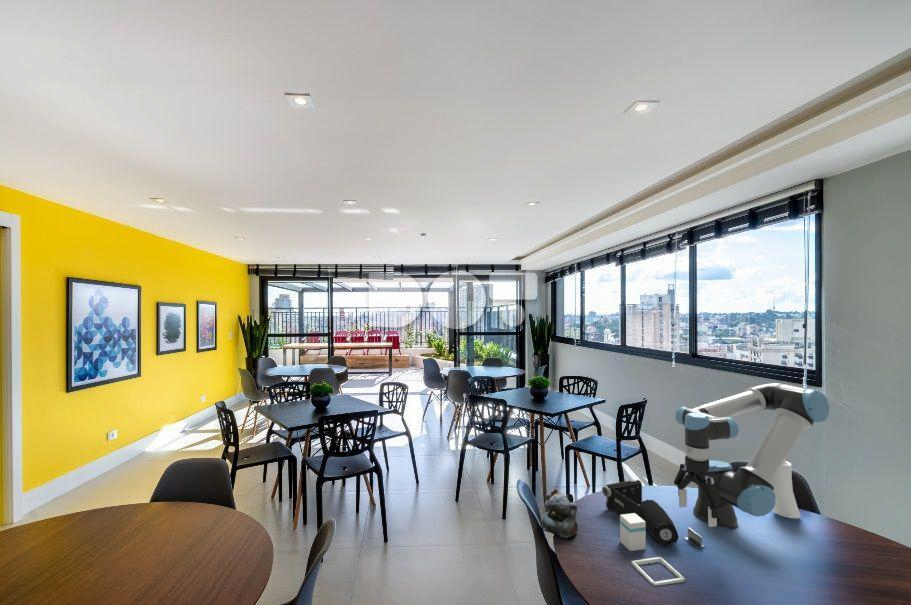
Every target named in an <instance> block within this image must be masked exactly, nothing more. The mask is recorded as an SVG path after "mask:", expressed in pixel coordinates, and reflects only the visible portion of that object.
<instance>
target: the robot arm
mask: <svg viewBox="0 0 911 605" xmlns="http://www.w3.org/2000/svg"><path fill="white" fill-rule="evenodd" d="M765 410H766V411H767V410H768V411H774V412H775V414H776V417H775V419H774V421H773V422H772V424H771V425H770V427H769V429H768V430H767V432H766V434H765V435H764V436H763V438H762V440H761V441H760V443H759V445H758V446H757V448H756V450H755V451H754V453H753V454H752V456H751V458H750V459H749V461H748V462H747V464H746V465H745V466H739V468H738V469H737V471H733V466H732V464H730V463H729V462H726V461H721V460H715V459H714V460H713V459H710V441H715V440H716V441H718V440H729V439H733V438H736V437H737V436H738V435H739V432H740V430H739V424H738V423H737V421H736V420H735V419H733V417H736V416H739V415H742V414H746V413H750V412H752V411H754V412H755V411H757V412H761V411H765ZM829 413H830V403H829V400H828V398H827V396H826V395H825V394H824V393H823V392H822V391H820V390H817V389H813V388H810V387H802V386H797V385H793V384H792V385H791V384H786V383H784V382H783V383H782V382H769V383H768V382H767V383H764V384H759V385H754V386H751V387H748V388H746V389H744V391H743V392H740V393H738V394H734V395H730V396H728V397H725V398H721V399H718V400H715V401H711V402H708V403H706V404H701V405H698V406H695V407H688V406H680V407H678V408H677V409H676V411H675V420H676V421H677V423H678V424H679V425H682V426H683V427H684V454H685V456H684V463H680V464H679V470H678V472H677V474H676V476H675V479H674V480H673V484H674V485H676V486H677V487H676V488H677V489H678V490H677V494H678V507H679V508H686V507H688V505H687V504H688V490H687V486H688V485H690V483H691V482H692V483H694V484H695V485H697V498H696V501H695V504H694V506H693V509H692V513H693V515H694V516H695V517H696V518H697V519H698V520H700V521H702V522H704V523H707V524H708V527H709V528H714V527H723V528H727V529H728V530H732V529H736V528H737V527H738V517H737V515H736V511H735V508H737V509H739V510H740V511H741V512H743V513H747V514H749V515H750V516H753V517H764V516H766V515H768V514H770V513H771V512H772V511H773V508H774V506H775V503H776V501H775V499H776V496H775V493H774V492H773V490H774V485H773V483H772V481H773V479H774V477H775V476H776V474H777V472H778V471H779V469H780V467H781V466H782V464H783V462H784V461H786V459H787V457H788V456H789V454H790V452H791V451H792V449H793V447H794V446H795V444H796V443H797V441H798V439H799V437H800V436H801V435H802V432H803V431H804V430H806V429H811V428H812V426H813V425H814V424H815V423H822V422H824V421H826V420H827V419H828V417H829V415H830V414H829Z"/></svg>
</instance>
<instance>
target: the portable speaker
mask: <svg viewBox="0 0 911 605" xmlns="http://www.w3.org/2000/svg"><path fill="white" fill-rule="evenodd" d="M639 506H640V507H641V514H642V519H643V520H644V521H645V522H646V529H647V530H648V532H649V533H650V535H651V536H652V537H653V538H654V540H655V541H657V542H658V544H659V545H660V546H663V547H666V546H670V545H672V544H676V543H677V542H678V540H679V534H678V531H677V528H676V526H675V524H674V522H673V521H672V519H671V517H670V516H669V514H668V513H667V512H666V510H664V508H663V507H661V505H659V503H658V502H656V501H655V500H654V499H645V500H642V502H641V504H640V505H639Z"/></svg>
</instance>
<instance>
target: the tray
mask: <svg viewBox="0 0 911 605" xmlns="http://www.w3.org/2000/svg"><path fill="white" fill-rule="evenodd" d="M630 562H631V563H630V564H631V566H632V567H633V568H635V570H637V572H639V573H640V575H641V576H643V577H644V578H645V579H646V580H647V581H648V582H649V583H650V584H651V585H652V586H653V587H656V586H663V585H664V586H665V585H670V584H671V585H672V584H678V583H680V584H681V583H686V578H685V577H684V576H683V575H682V574H680V572H679V571H678V570H676V569H675V568H674V567H673V566H672V565H671V564H669V563H668V562H667V560H665V559H664V558H663V557H662V556H655V557H651V558H650V557H649V558H644V559H637V560H631V561H630ZM655 562H658V563H661V564H662V565H663V566H664V565H665V566H666V567H665V566H664V567H665V568H666V569H668V570H669V571H670V572H671V573H672V572H673V573H672V574H674V575H675V576H676V578H670V579H663V580H658V581H655V580H653V579H652V578H651V577H650V576H649V575H648V574H647V573H646V572H645V571H644V570H643V569H642V568H641V567H640V566H641V565H642V566H643V565H648V563H650V564H656V563H655Z"/></svg>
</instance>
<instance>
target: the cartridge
mask: <svg viewBox="0 0 911 605" xmlns="http://www.w3.org/2000/svg"><path fill="white" fill-rule="evenodd" d="M646 529H647V527H646V522H645V521H644V520H643V519H641V518H640V517H639V516H638V515H637V514H635V513H631V514H623V515H619V534H620V535H619V542H620V543H621V544H622V545H623V546H624V547H626V549H627V550H628V551H629V552H632V551H641V550H646V549H647V548H646V547H647V546H646V545H647V544H646V539H647V538H646V536H647V535H646V532H647V531H646Z"/></svg>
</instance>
